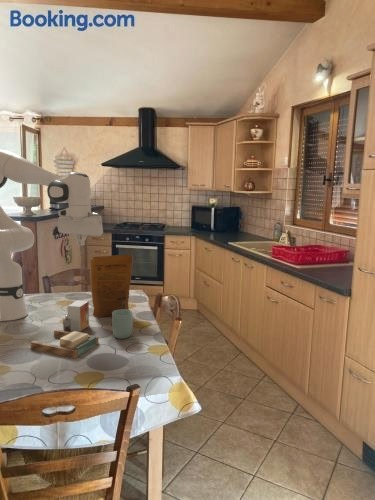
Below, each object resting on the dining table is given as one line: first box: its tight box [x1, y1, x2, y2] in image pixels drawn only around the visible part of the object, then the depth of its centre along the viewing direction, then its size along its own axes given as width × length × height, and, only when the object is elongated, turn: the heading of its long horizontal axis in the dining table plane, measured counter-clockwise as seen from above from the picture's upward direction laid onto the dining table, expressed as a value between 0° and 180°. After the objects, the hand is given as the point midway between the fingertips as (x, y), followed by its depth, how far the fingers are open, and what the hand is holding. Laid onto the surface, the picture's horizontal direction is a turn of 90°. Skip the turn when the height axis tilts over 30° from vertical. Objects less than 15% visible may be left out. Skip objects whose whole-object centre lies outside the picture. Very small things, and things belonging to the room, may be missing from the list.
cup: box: [111, 309, 134, 340], centre depth 153 cm, size 8×8×10 cm
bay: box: [30, 328, 99, 359], centre depth 143 cm, size 19×14×3 cm
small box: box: [67, 300, 90, 332], centre depth 161 cm, size 8×6×10 cm
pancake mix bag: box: [88, 254, 134, 318], centre depth 175 cm, size 7×19×28 cm, turn 105°
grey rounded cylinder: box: [62, 313, 74, 332], centre depth 154 cm, size 3×3×8 cm
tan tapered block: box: [59, 331, 89, 349], centre depth 141 cm, size 6×8×5 cm
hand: (80, 245), depth 165 cm, fingers closed
